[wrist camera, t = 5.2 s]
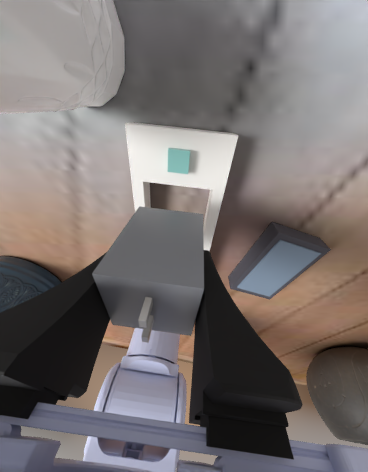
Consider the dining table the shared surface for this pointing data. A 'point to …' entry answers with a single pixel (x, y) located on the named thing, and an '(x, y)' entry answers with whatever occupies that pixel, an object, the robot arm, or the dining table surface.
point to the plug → (154, 272)
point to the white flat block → (180, 164)
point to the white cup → (59, 54)
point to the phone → (276, 260)
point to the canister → (22, 281)
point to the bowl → (341, 391)
